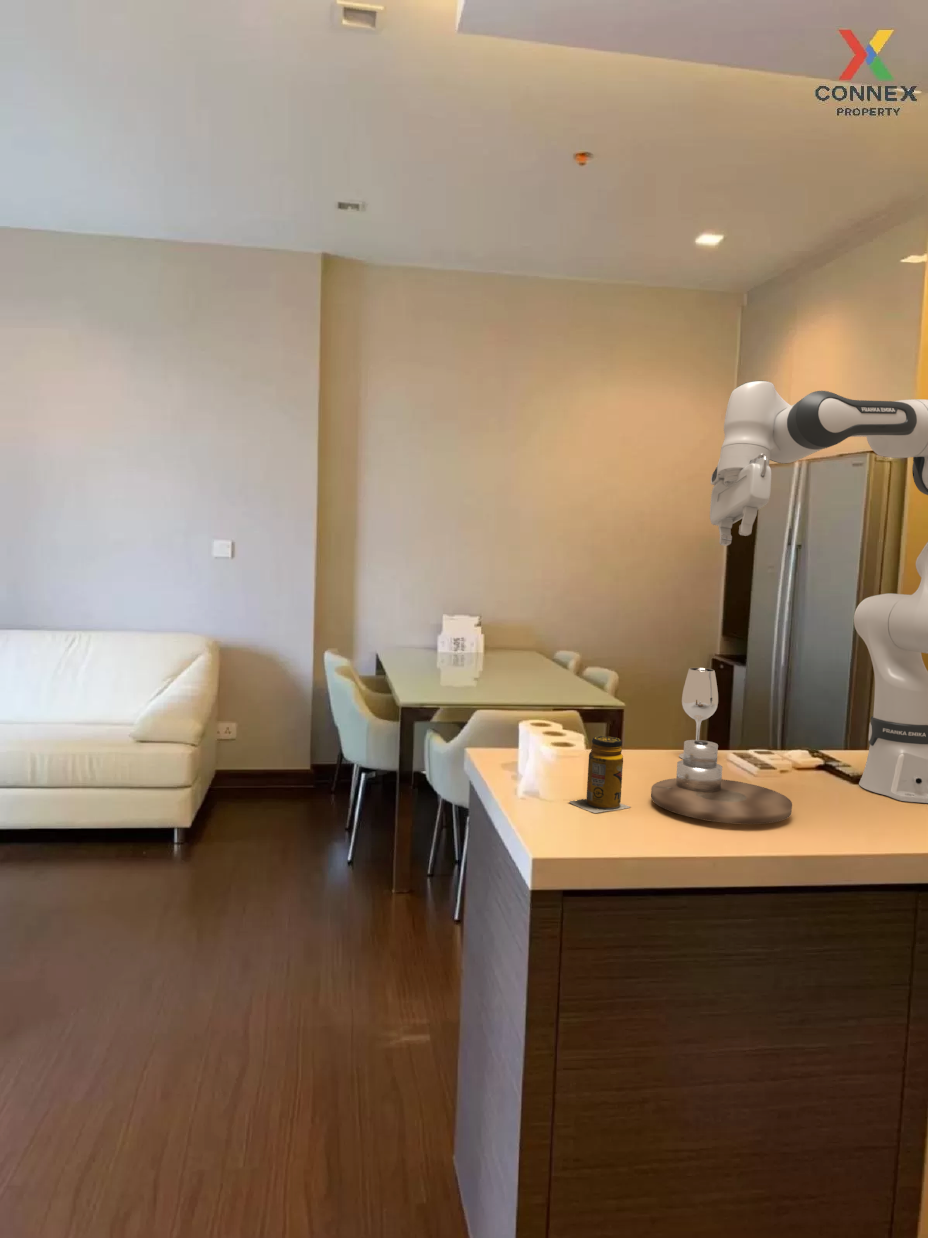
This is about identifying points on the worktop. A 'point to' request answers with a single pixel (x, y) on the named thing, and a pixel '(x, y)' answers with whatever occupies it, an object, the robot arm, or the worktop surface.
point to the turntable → (724, 802)
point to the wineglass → (700, 696)
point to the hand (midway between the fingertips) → (734, 540)
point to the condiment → (604, 776)
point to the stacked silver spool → (699, 767)
